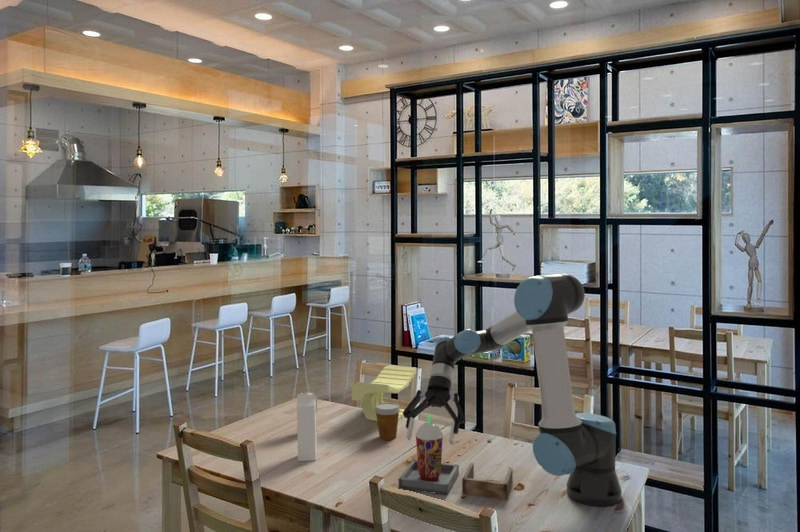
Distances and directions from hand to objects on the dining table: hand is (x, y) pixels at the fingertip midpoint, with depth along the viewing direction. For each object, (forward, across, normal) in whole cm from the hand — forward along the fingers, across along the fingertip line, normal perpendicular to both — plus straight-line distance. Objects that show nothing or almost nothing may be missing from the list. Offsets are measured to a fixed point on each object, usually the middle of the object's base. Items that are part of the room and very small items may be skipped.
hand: (429, 440), depth 177 cm
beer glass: (-10, +56, -28) cm, 63 cm away
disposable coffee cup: (-13, +24, -31) cm, 41 cm away
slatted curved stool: (-29, +33, -47) cm, 65 cm away
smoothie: (+9, 0, -7) cm, 12 cm away
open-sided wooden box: (+9, -18, -8) cm, 22 cm away
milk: (+5, +45, -12) cm, 47 cm away
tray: (+10, 0, -8) cm, 12 cm away
